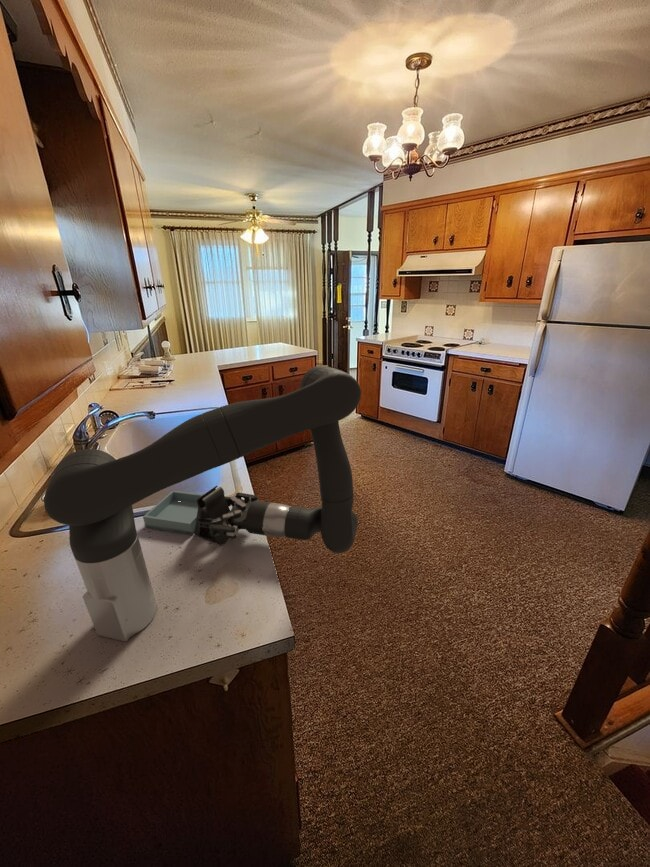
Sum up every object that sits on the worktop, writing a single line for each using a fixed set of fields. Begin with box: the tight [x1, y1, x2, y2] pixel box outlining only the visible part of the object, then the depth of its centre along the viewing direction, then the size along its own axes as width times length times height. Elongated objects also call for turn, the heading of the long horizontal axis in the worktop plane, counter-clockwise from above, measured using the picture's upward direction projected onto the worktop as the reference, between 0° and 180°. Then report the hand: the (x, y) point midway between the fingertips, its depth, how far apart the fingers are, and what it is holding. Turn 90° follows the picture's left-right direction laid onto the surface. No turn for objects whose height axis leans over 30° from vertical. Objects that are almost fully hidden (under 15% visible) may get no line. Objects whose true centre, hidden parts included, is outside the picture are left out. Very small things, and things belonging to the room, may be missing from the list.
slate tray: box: [142, 490, 204, 536], centre depth 92 cm, size 12×13×4 cm
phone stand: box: [193, 485, 240, 546], centre depth 84 cm, size 9×6×12 cm, turn 63°
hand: (207, 510), depth 84 cm, fingers open, 8 cm apart
